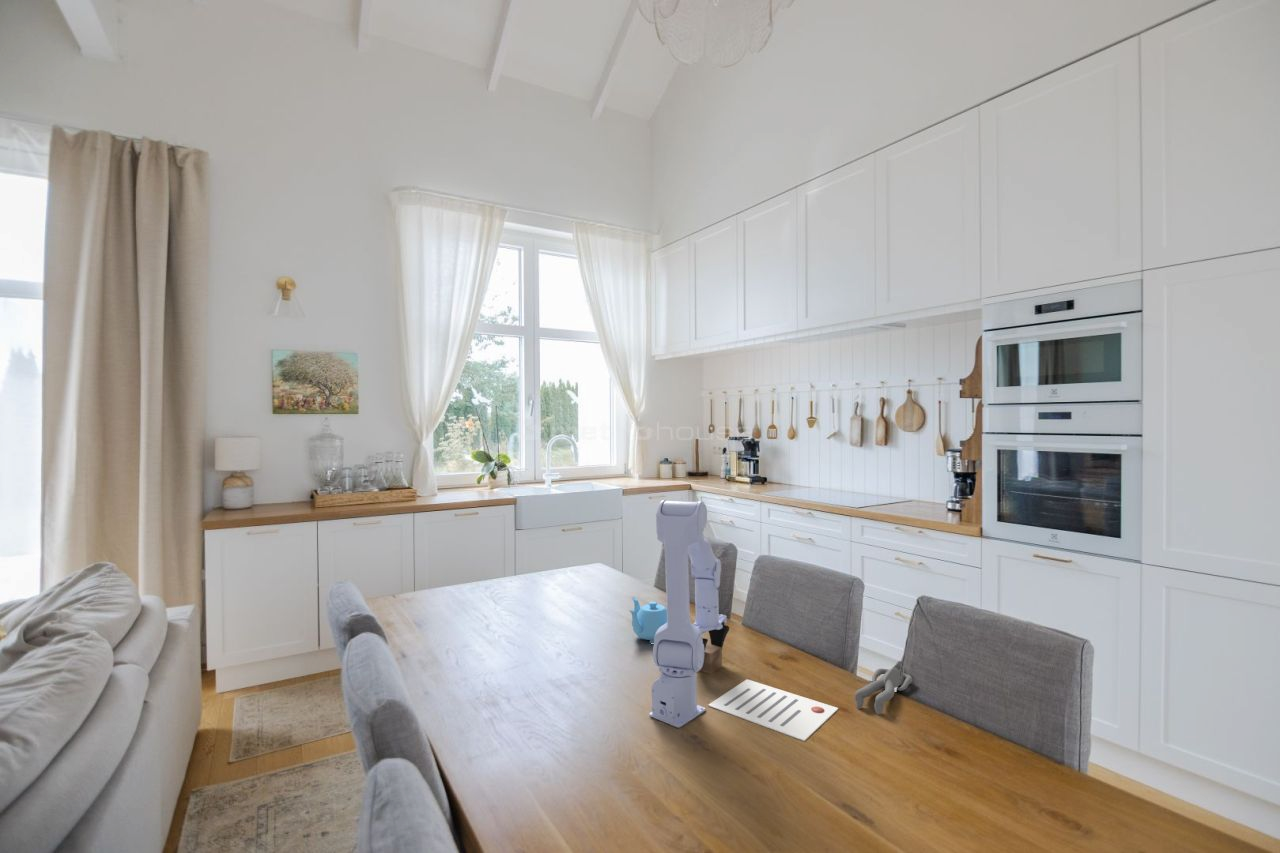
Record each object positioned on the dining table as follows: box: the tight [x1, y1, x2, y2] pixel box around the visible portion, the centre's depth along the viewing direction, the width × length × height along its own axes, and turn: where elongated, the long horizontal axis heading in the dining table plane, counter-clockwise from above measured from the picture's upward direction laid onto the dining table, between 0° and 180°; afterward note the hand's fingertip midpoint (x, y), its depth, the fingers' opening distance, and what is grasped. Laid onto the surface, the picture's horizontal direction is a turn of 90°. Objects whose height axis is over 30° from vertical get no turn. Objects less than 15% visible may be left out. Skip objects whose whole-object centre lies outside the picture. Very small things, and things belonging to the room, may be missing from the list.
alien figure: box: [854, 660, 914, 716], centre depth 132 cm, size 8×5×25 cm
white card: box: [707, 679, 839, 742], centre depth 125 cm, size 16×22×1 cm
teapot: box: [628, 596, 667, 644], centre depth 166 cm, size 13×13×10 cm
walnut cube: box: [699, 642, 723, 675], centre depth 146 cm, size 5×5×5 cm
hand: (707, 659), depth 146 cm, fingers open, 7 cm apart
